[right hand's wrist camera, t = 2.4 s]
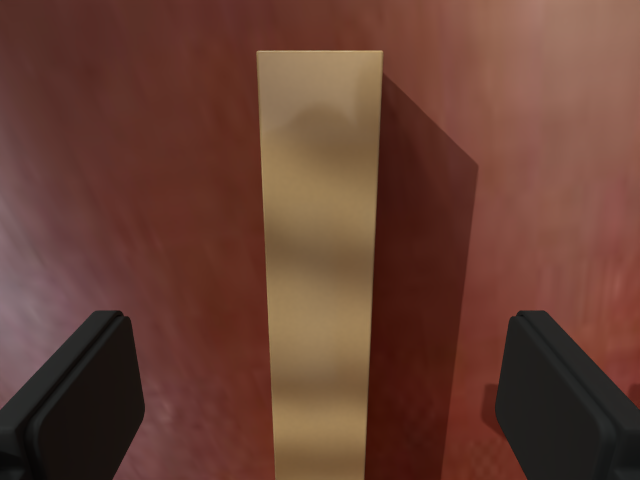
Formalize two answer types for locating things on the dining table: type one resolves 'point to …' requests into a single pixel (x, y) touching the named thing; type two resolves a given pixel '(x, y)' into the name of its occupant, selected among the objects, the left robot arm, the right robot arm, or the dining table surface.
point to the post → (319, 252)
